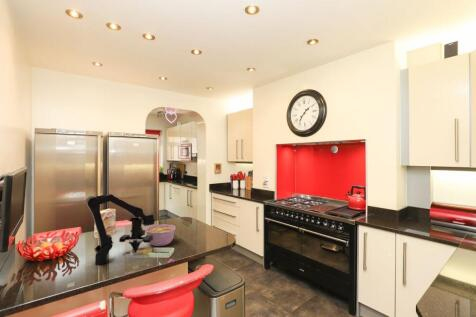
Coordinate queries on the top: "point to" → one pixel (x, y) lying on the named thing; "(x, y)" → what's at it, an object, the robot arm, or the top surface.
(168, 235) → the bowl of food
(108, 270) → the top surface
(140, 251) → the oak chip
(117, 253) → the top surface
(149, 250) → the yellow block
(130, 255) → the slot board
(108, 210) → the coffeecake box
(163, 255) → the tray
